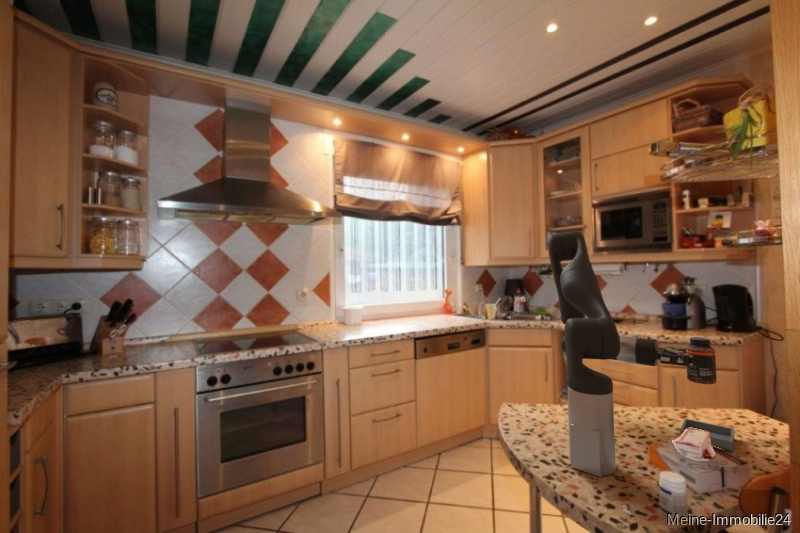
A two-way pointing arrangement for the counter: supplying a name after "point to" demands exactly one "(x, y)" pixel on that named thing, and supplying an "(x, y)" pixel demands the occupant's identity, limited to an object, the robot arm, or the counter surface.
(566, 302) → the robot arm
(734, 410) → the counter surface
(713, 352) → the supplement bottle
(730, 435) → the slate tray
